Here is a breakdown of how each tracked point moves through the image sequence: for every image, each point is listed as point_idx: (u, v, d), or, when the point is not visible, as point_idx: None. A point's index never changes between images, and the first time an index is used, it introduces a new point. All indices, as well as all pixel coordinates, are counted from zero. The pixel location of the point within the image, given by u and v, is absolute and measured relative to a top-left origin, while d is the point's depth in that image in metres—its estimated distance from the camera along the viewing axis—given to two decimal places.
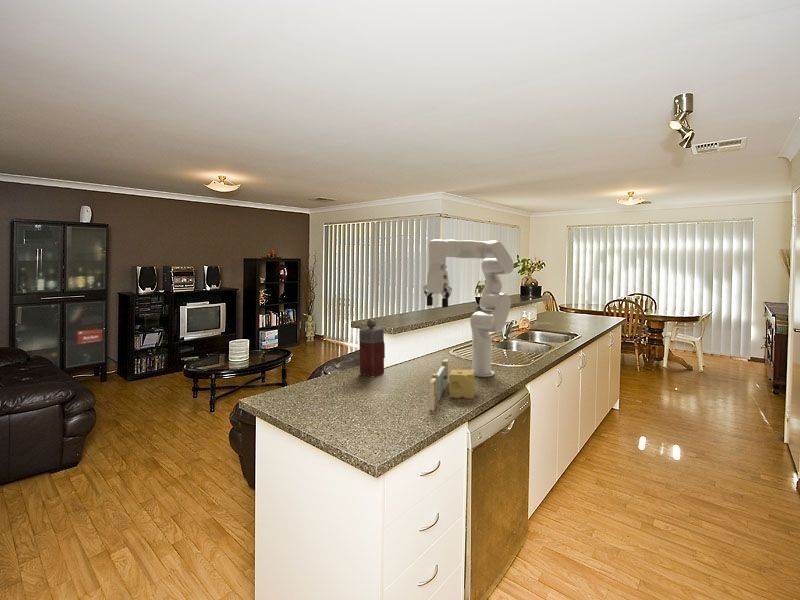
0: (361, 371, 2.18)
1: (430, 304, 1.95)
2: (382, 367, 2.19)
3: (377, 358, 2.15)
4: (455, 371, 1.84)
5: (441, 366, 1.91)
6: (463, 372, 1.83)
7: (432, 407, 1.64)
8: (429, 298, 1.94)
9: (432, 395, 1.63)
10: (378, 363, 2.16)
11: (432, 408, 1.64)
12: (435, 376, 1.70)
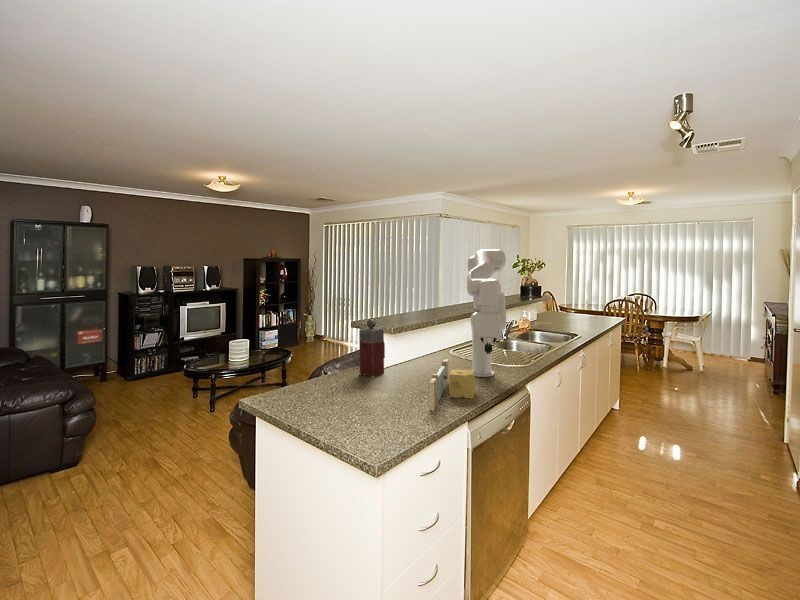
0: (361, 371, 2.18)
1: None
2: (382, 367, 2.19)
3: (377, 358, 2.15)
4: (455, 371, 1.84)
5: (441, 366, 1.91)
6: (463, 372, 1.83)
7: (432, 407, 1.64)
8: None
9: (432, 395, 1.63)
10: (378, 363, 2.16)
11: (432, 408, 1.64)
12: (435, 376, 1.70)
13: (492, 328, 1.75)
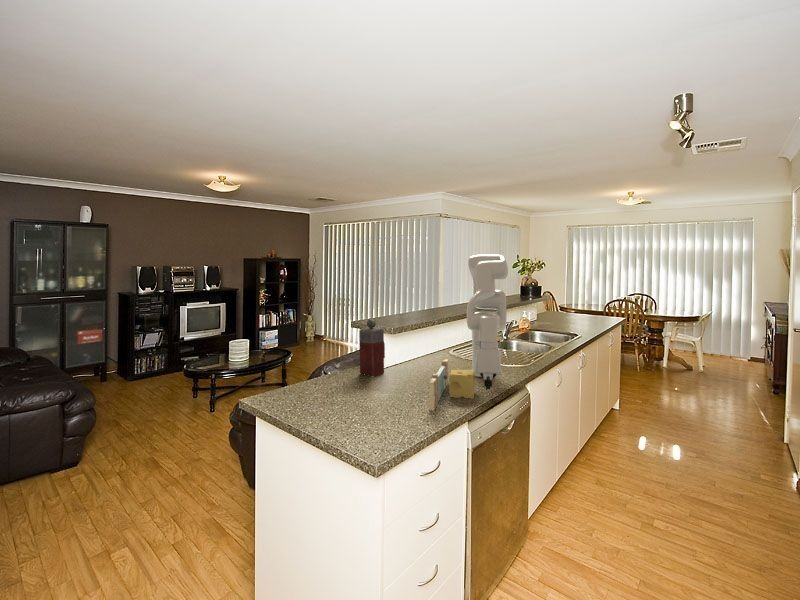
0: (361, 371, 2.18)
1: None
2: (382, 367, 2.19)
3: (377, 358, 2.15)
4: (455, 371, 1.84)
5: (441, 366, 1.91)
6: (463, 372, 1.83)
7: (432, 407, 1.64)
8: None
9: (432, 395, 1.63)
10: (378, 363, 2.16)
11: (432, 408, 1.64)
12: (435, 376, 1.70)
13: (492, 364, 1.76)
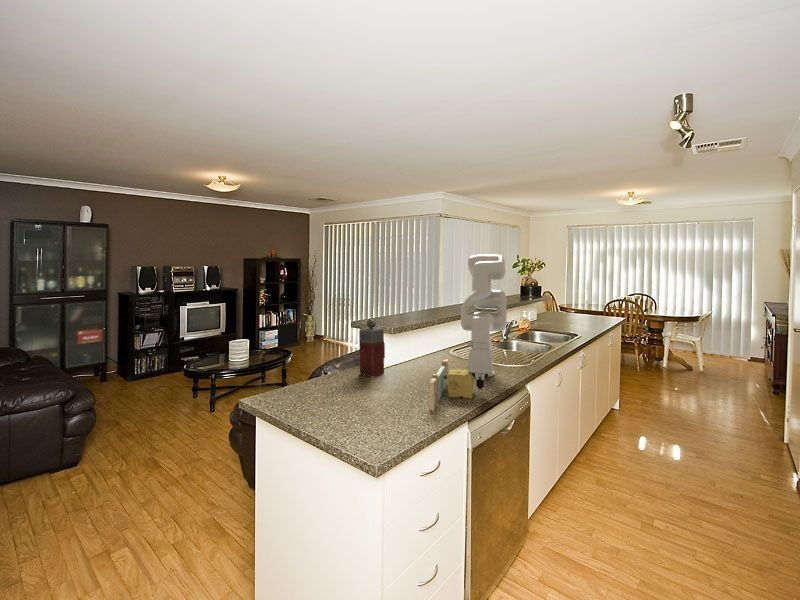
0: (361, 371, 2.18)
1: None
2: (382, 367, 2.19)
3: (377, 358, 2.15)
4: (454, 371, 1.85)
5: (441, 366, 1.91)
6: (462, 372, 1.83)
7: (432, 407, 1.64)
8: None
9: (432, 395, 1.63)
10: (378, 363, 2.16)
11: (432, 408, 1.64)
12: (435, 376, 1.70)
13: (484, 364, 1.77)
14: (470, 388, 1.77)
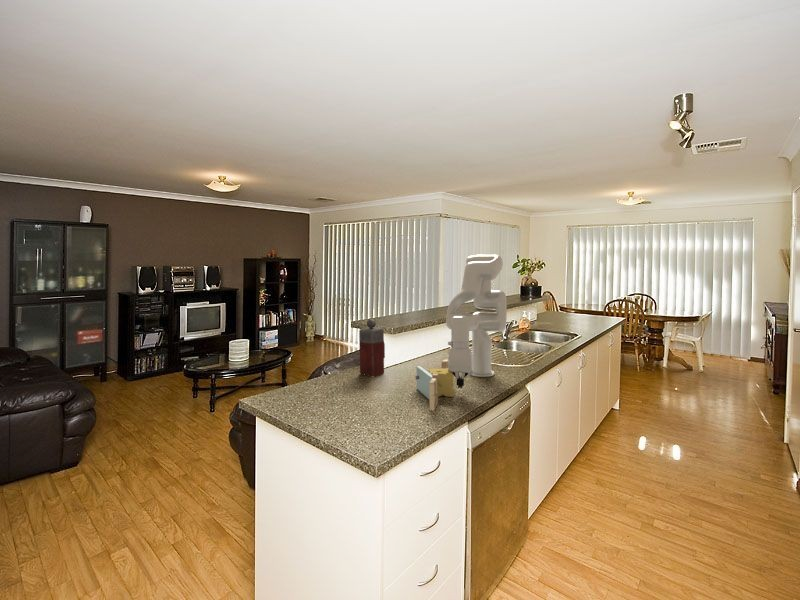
0: (361, 371, 2.18)
1: None
2: (382, 367, 2.19)
3: (377, 358, 2.15)
4: (434, 370, 1.86)
5: (417, 366, 1.90)
6: (442, 371, 1.85)
7: (432, 407, 1.64)
8: None
9: (432, 395, 1.63)
10: (378, 363, 2.16)
11: (432, 408, 1.64)
12: (435, 376, 1.70)
13: (463, 363, 1.79)
14: (451, 386, 1.80)
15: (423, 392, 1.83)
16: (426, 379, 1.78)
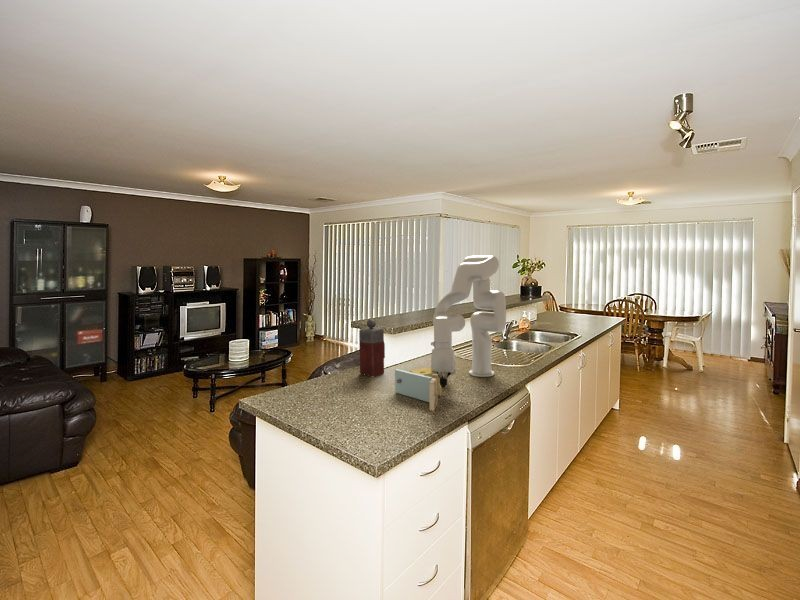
0: (361, 371, 2.18)
1: None
2: (382, 367, 2.19)
3: (377, 358, 2.15)
4: (416, 371, 1.85)
5: (397, 370, 1.85)
6: (425, 371, 1.85)
7: (432, 407, 1.64)
8: None
9: (432, 395, 1.63)
10: (378, 363, 2.16)
11: (432, 408, 1.64)
12: (435, 376, 1.70)
13: (446, 363, 1.82)
14: (438, 385, 1.82)
15: (411, 395, 1.80)
16: (419, 381, 1.76)
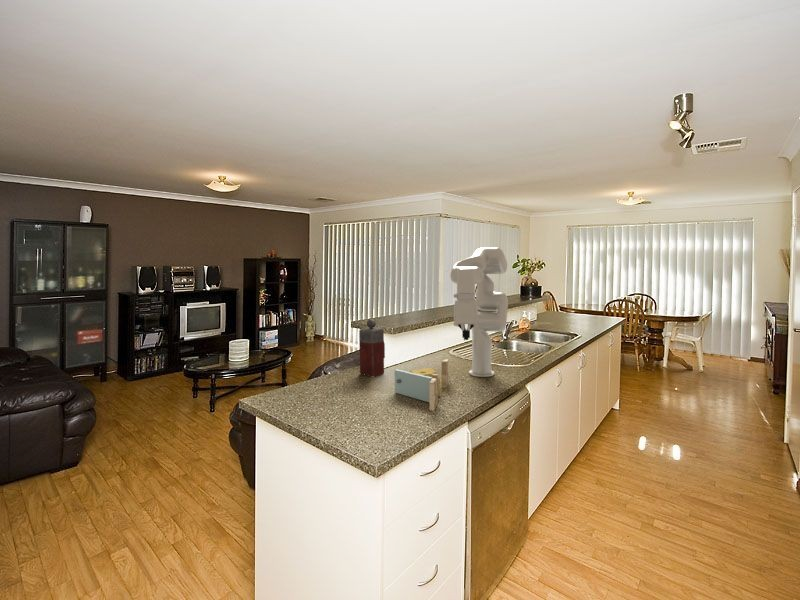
0: (361, 371, 2.18)
1: None
2: (382, 367, 2.19)
3: (377, 358, 2.15)
4: (416, 371, 1.85)
5: (397, 370, 1.85)
6: (425, 371, 1.85)
7: (432, 407, 1.64)
8: None
9: (432, 395, 1.63)
10: (378, 363, 2.16)
11: (432, 408, 1.64)
12: (435, 376, 1.70)
13: (469, 315, 1.80)
14: (438, 386, 1.82)
15: (411, 395, 1.80)
16: (419, 381, 1.76)
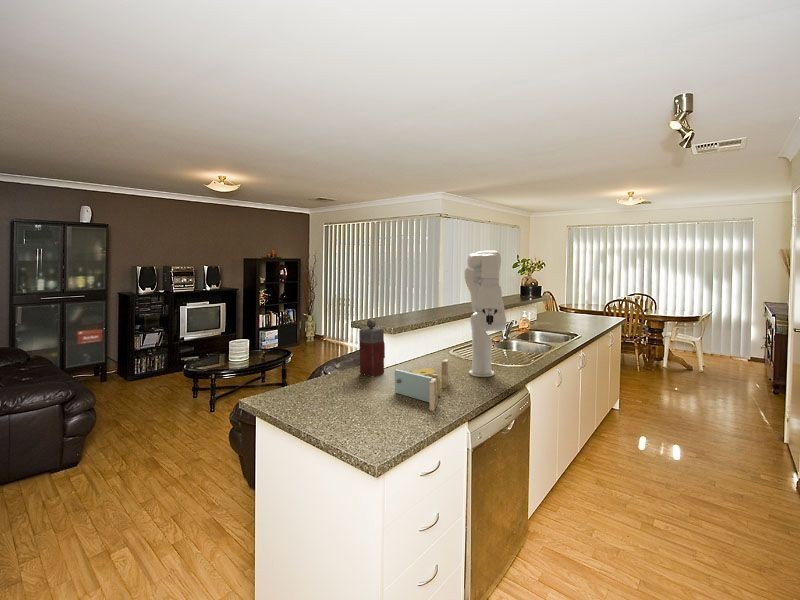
0: (361, 371, 2.18)
1: None
2: (382, 367, 2.19)
3: (377, 358, 2.15)
4: (416, 371, 1.85)
5: (397, 370, 1.85)
6: (425, 371, 1.85)
7: (432, 407, 1.64)
8: None
9: (432, 395, 1.63)
10: (378, 363, 2.16)
11: (432, 408, 1.64)
12: (435, 376, 1.70)
13: (493, 300, 1.85)
14: (438, 386, 1.82)
15: (411, 395, 1.80)
16: (419, 381, 1.76)
